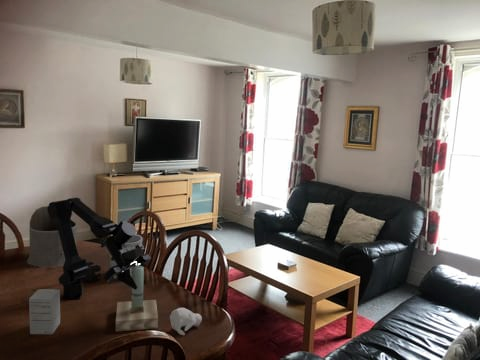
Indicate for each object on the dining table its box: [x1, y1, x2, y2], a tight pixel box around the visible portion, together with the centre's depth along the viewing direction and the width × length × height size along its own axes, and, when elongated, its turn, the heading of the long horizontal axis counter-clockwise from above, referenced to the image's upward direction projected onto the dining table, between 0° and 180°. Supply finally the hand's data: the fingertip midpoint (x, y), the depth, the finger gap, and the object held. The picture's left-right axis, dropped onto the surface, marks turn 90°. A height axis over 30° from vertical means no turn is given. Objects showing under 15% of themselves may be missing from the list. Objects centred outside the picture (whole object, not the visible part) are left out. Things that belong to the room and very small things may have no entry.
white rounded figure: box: [169, 307, 203, 336], centre depth 134 cm, size 6×8×12 cm
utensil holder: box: [109, 233, 143, 280], centre depth 177 cm, size 15×15×18 cm
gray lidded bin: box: [27, 205, 78, 268], centre depth 188 cm, size 23×32×25 cm
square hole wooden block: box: [115, 299, 159, 332], centre depth 138 cm, size 14×14×4 cm
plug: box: [131, 266, 145, 308], centre depth 137 cm, size 4×4×14 cm
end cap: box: [84, 261, 102, 283], centre depth 171 cm, size 10×7×7 cm
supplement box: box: [28, 288, 61, 335], centre depth 129 cm, size 7×7×13 cm
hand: (140, 286), depth 136 cm, fingers closed on plug, 4 cm apart
